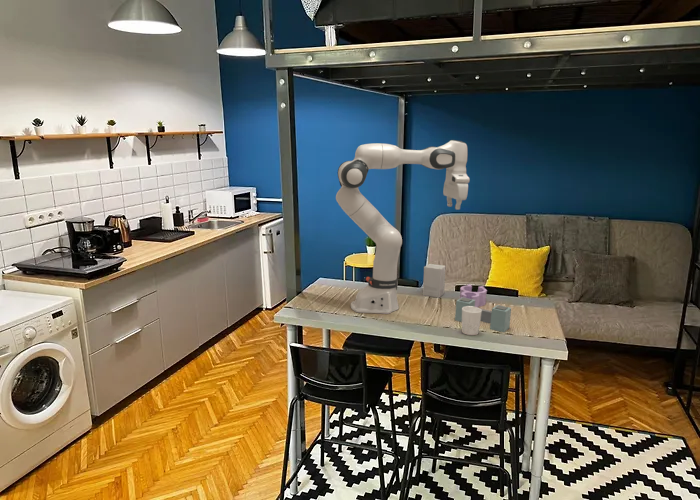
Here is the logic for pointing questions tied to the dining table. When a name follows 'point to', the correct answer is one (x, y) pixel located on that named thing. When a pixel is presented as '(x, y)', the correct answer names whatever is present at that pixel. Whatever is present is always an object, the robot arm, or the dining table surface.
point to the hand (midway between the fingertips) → (453, 207)
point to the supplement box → (434, 280)
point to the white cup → (471, 320)
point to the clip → (474, 294)
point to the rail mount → (487, 314)
